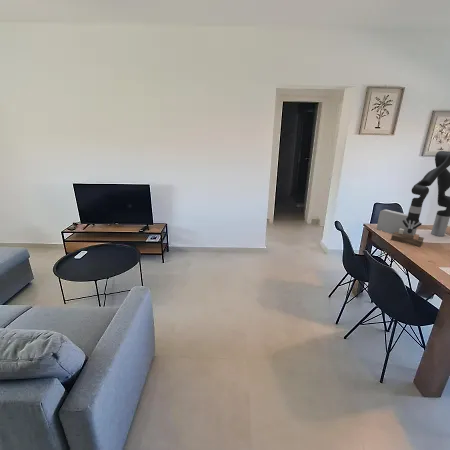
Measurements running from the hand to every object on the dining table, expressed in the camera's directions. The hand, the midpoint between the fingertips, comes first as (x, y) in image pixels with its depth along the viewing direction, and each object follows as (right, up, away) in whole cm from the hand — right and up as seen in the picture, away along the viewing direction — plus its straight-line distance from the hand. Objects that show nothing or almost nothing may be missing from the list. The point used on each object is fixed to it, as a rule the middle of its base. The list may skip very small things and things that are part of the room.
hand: (409, 233), depth 216 cm
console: (+1, -6, +5) cm, 8 cm away
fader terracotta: (+4, -4, -2) cm, 6 cm away
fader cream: (-1, 0, +9) cm, 9 cm away
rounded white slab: (+1, -1, +21) cm, 21 cm away
